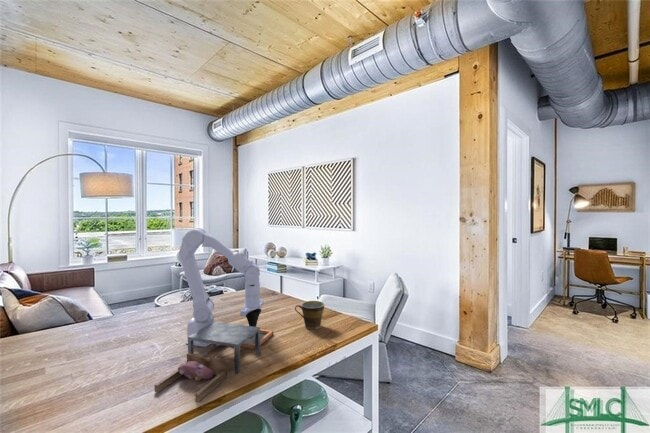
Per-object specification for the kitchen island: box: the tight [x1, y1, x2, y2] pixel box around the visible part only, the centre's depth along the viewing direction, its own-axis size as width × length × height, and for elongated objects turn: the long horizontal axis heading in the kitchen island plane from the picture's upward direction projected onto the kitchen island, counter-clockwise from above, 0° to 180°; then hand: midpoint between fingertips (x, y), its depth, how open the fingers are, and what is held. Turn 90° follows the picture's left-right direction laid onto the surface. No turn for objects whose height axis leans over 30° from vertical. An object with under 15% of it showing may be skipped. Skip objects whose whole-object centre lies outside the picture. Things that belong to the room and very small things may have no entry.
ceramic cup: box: [294, 300, 325, 331], centre depth 133 cm, size 13×10×10 cm
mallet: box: [154, 334, 255, 403], centre depth 100 cm, size 15×34×6 cm, turn 163°
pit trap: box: [240, 328, 274, 351], centre depth 121 cm, size 13×14×2 cm
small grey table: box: [187, 320, 261, 375], centre depth 105 cm, size 19×14×10 cm
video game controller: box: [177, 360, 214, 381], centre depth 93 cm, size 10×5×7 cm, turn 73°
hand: (252, 327), depth 122 cm, fingers closed
